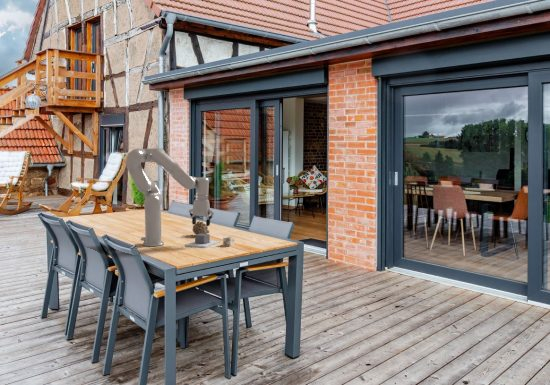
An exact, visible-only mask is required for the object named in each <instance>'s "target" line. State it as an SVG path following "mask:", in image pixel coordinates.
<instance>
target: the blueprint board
mask: <svg viewBox="0 0 550 385" xmlns="http://www.w3.org/2000/svg"><path fill="white" fill-rule="evenodd" d="M219 243H220V240H211V239H210V242H208V243H206V244H200V243H195V240H194V241H191V242H188V243H185V244H184V246H185V247H190V248H204V249H206V248H210V247H211V246H215V245H217V244H219Z"/></svg>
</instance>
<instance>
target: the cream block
mask: <svg viewBox="0 0 550 385" xmlns="http://www.w3.org/2000/svg"><path fill="white" fill-rule="evenodd" d="M222 246H223V247H224V246H225V247H232V246H235V236H225V237H222Z"/></svg>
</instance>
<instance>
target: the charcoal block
mask: <svg viewBox="0 0 550 385" xmlns="http://www.w3.org/2000/svg"><path fill="white" fill-rule="evenodd" d="M210 236H211V235H210V233H207V234H201V233H200V234H197V235H196V234H195V235H194V241H195V243H200V244H206V243H208V242H210V240H211V239H210Z"/></svg>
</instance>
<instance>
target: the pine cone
mask: <svg viewBox="0 0 550 385" xmlns="http://www.w3.org/2000/svg"><path fill="white" fill-rule="evenodd" d="M208 227H209V226H206V223H204V222H203V221H196V224H194V225H192V229H191V230H192V232H193V234H195V235H197V234H200V233H201V234H210V230H209V229H208Z"/></svg>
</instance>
